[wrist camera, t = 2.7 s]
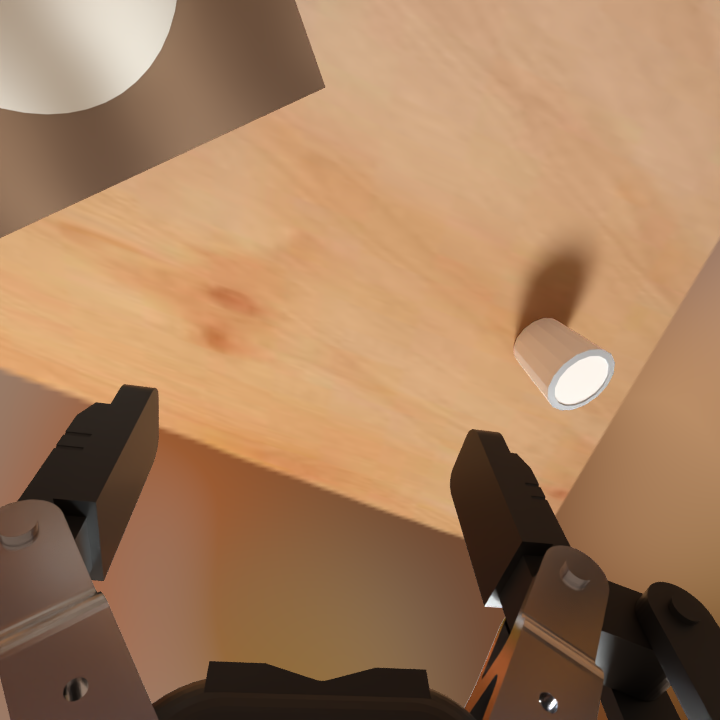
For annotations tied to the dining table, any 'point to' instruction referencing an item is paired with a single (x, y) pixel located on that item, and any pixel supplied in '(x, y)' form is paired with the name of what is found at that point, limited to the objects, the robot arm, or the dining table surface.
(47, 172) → the lamp housing
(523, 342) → the shot glass
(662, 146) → the dining table surface
